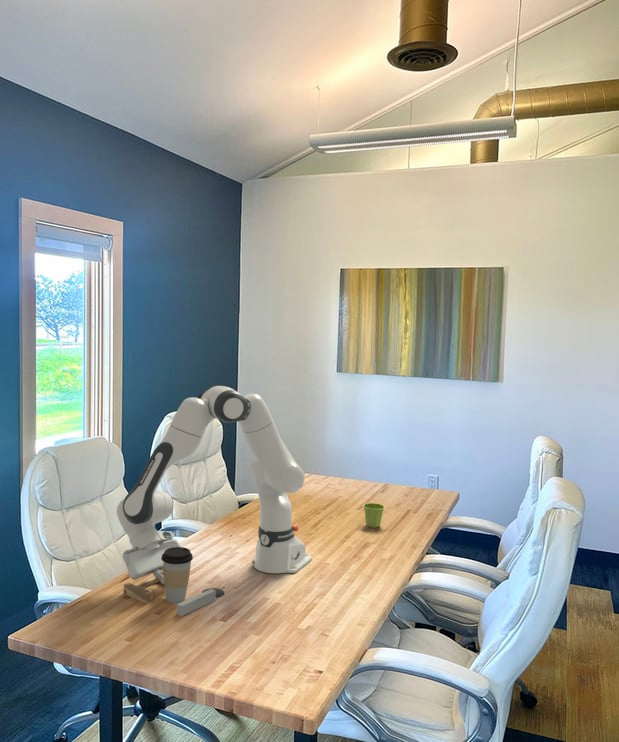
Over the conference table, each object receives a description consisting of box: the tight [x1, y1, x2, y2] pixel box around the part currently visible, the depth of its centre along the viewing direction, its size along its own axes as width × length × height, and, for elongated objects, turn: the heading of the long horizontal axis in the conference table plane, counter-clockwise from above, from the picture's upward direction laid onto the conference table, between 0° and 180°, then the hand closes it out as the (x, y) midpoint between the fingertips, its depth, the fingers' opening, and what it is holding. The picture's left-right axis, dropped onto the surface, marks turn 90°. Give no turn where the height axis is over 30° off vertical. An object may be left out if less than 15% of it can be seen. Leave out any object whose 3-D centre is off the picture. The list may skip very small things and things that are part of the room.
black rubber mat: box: [201, 587, 225, 598], centre depth 196 cm, size 7×7×1 cm
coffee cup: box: [161, 546, 194, 604], centre depth 190 cm, size 9×9×15 cm
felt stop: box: [176, 588, 216, 617], centre depth 186 cm, size 14×2×3 cm, turn 145°
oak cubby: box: [123, 570, 164, 605], centre depth 196 cm, size 15×11×3 cm
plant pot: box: [362, 502, 386, 528], centre depth 269 cm, size 9×9×9 cm
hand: (167, 581), depth 193 cm, fingers closed, pressing on coffee cup
